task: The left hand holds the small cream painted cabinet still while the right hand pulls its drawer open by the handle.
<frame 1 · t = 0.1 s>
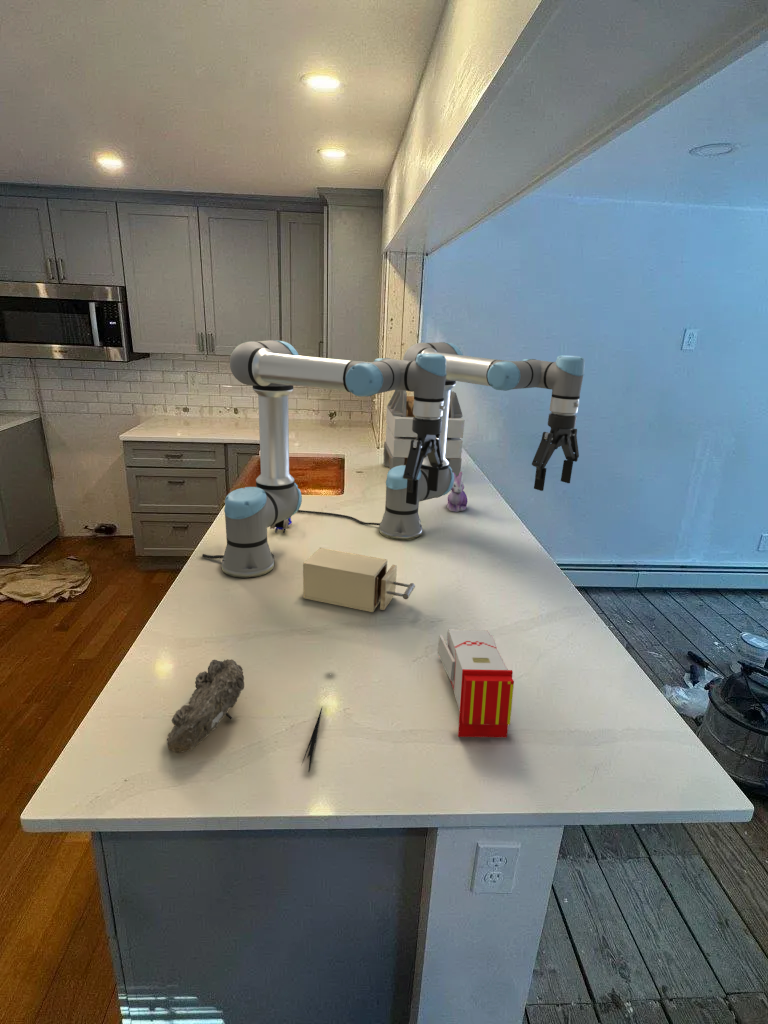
left hand: (422, 496, 151), 28 cm above the counter, tool pointing down, fingers open, 13 cm apart
right hand: (552, 485, 166), 28 cm above the counter, tool pointing down, fingers open, 13 cm apart
fossil: (212, 717, 108), on the counter
cabinet: (345, 596, 155), on the counter
drawer: (367, 582, 152), point 5 cm above the counter, slide at 1.7 cm
figurine: (456, 508, 228), on the counter
toy: (469, 691, 119), on the counter
feather: (319, 719, 109), on the counter
figurine character: (282, 528, 200), on the counter
transformer: (419, 473, 275), on the counter
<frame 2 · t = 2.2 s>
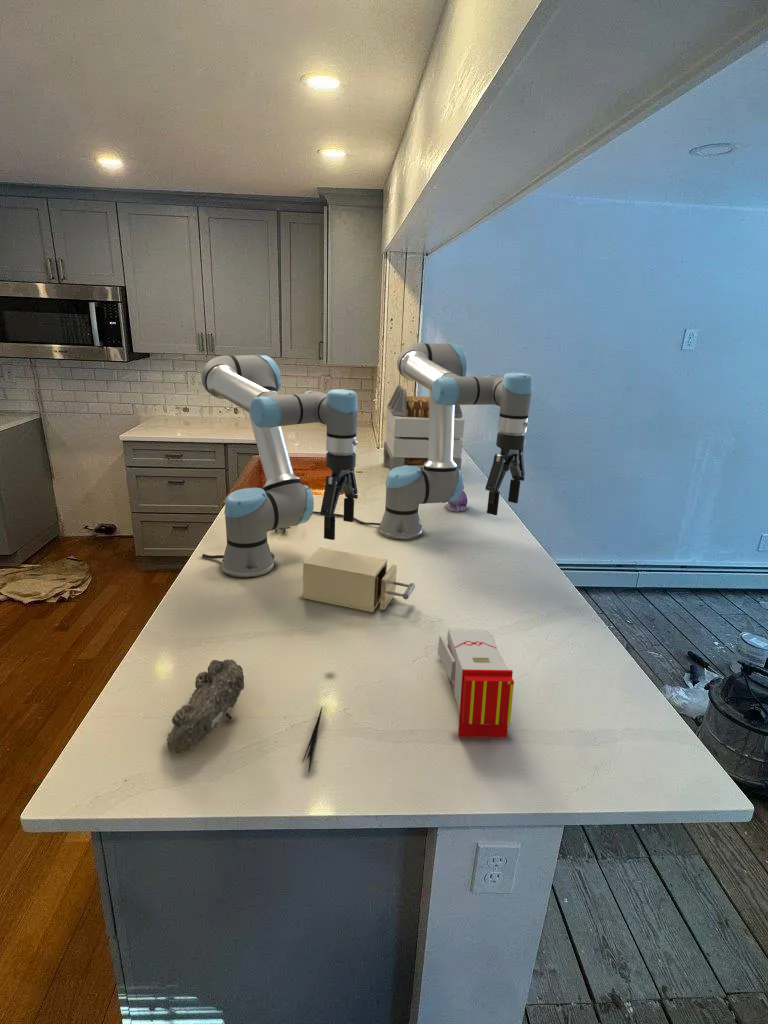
left hand: (339, 529, 151), 19 cm above the counter, tool pointing down, fingers open, 13 cm apart
right hand: (502, 508, 158), 24 cm above the counter, tool pointing down, fingers open, 13 cm apart
nothing on the counter moved.
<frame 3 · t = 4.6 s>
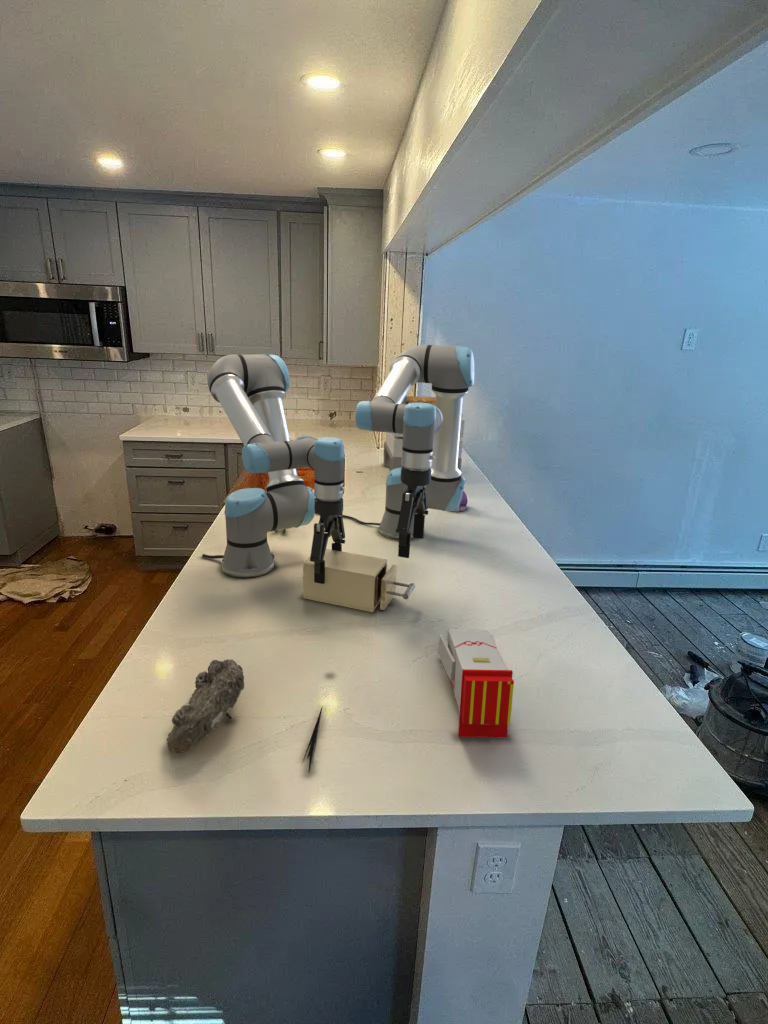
left hand: (328, 573, 155), 6 cm above the counter, tool pointing down, fingers closed on cabinet, 11 cm apart
right hand: (411, 547, 146), 17 cm above the counter, tool pointing down, fingers open, 13 cm apart
cabinet: (345, 596, 155), on the counter, touching left hand
everything else where it was.
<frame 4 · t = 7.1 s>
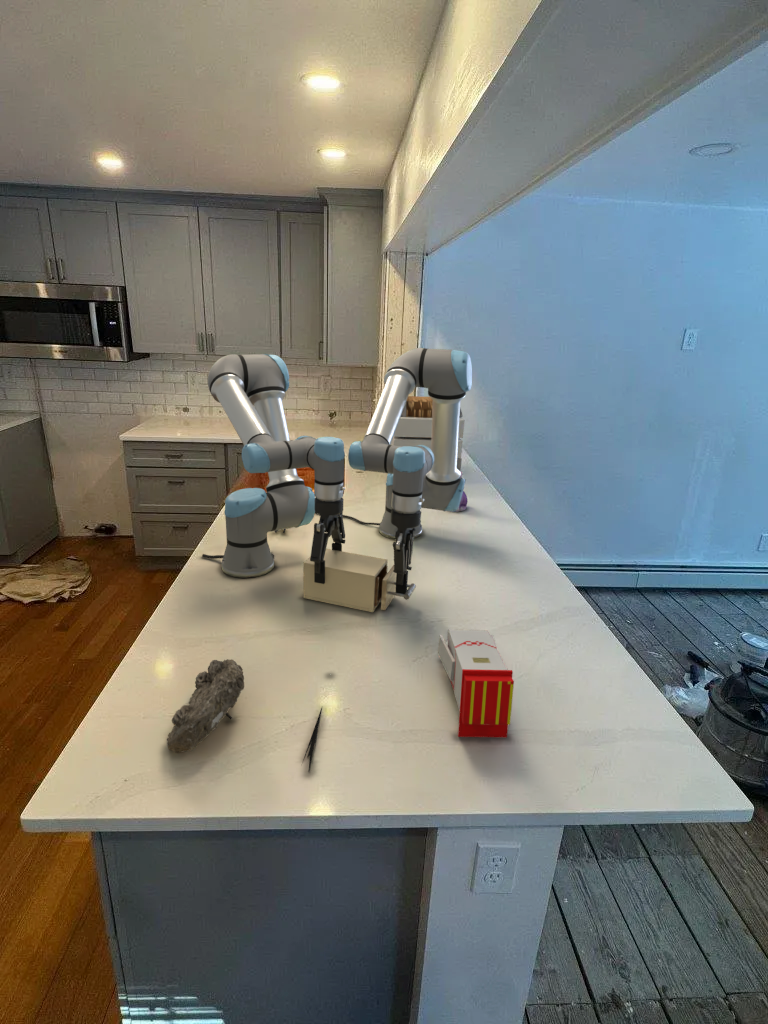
left hand: (328, 573, 155), 6 cm above the counter, tool pointing down, fingers closed on cabinet, 11 cm apart
right hand: (401, 593, 150), 4 cm above the counter, tool pointing down, fingers closed
cabinet: (345, 595, 155), on the counter, touching left hand
drawer: (368, 583, 152), point 5 cm above the counter, slide at 1.9 cm, touching right hand
everything else where it was.
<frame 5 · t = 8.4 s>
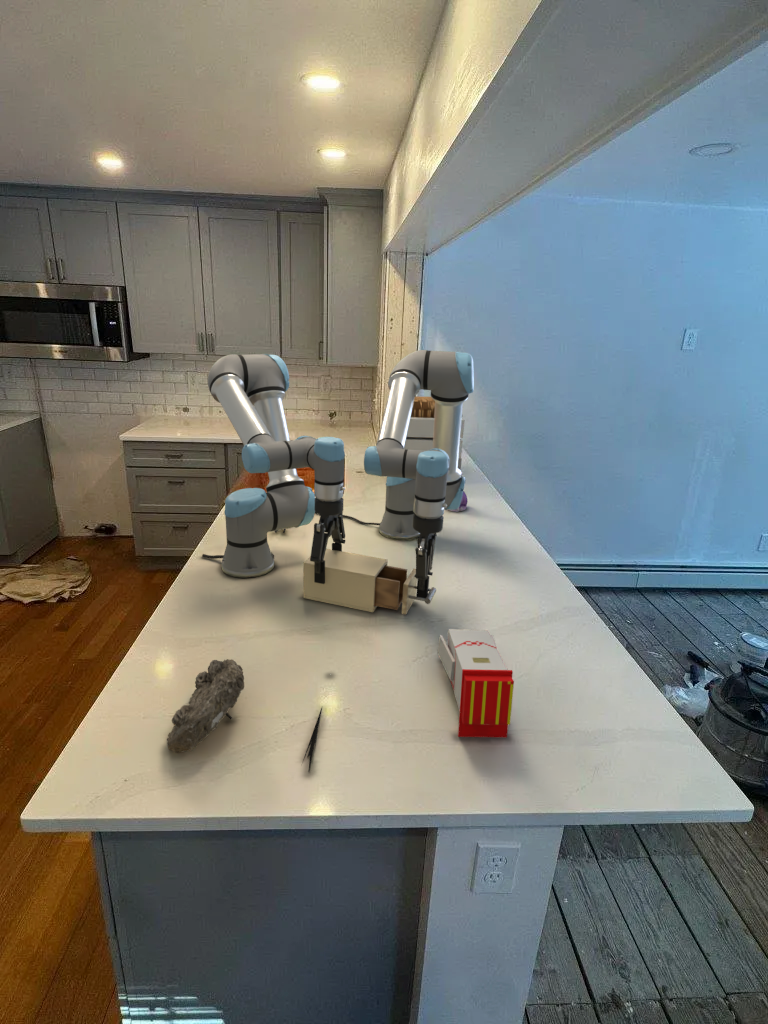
left hand: (328, 573, 155), 6 cm above the counter, tool pointing down, fingers closed on cabinet, 11 cm apart
right hand: (421, 598, 148), 4 cm above the counter, tool pointing down, fingers closed
cabinet: (345, 595, 155), on the counter, touching left hand
drawer: (388, 586, 150), point 5 cm above the counter, slide at 7.5 cm, touching right hand
everything else where it was.
when the left hand's fingers open (6 cm above the counter, at t = 10.1 s): cabinet stays where it is, on the counter.
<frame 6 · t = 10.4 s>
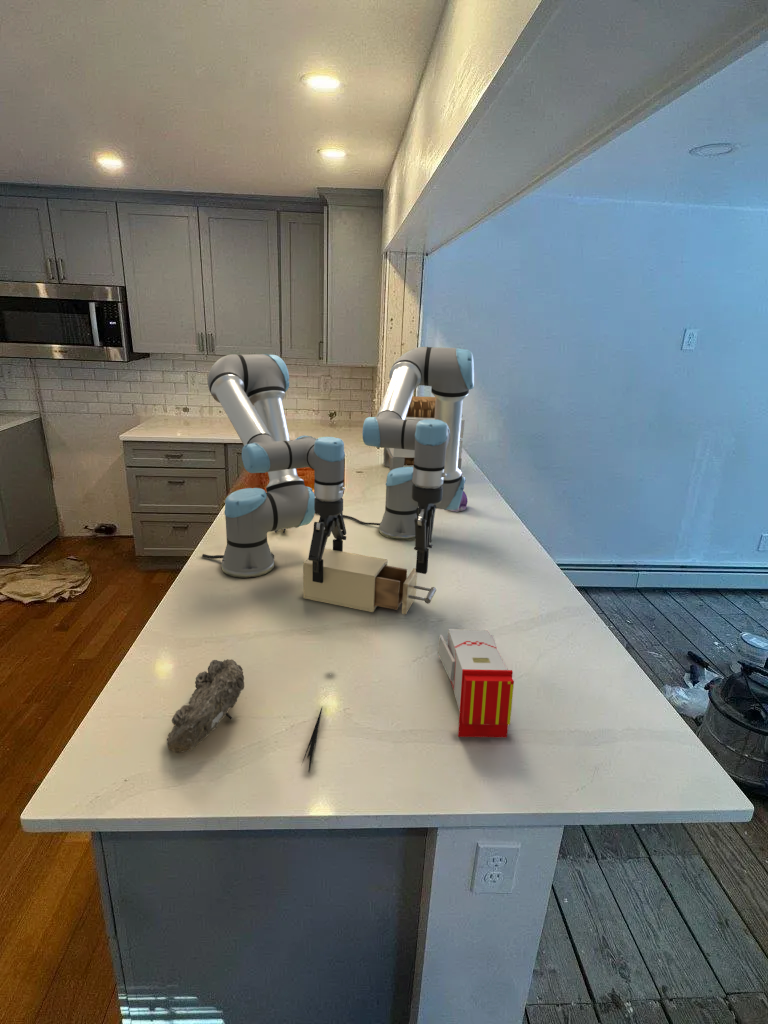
left hand: (328, 571, 155), 7 cm above the counter, tool pointing down, fingers open, 13 cm apart
right hand: (421, 572, 146), 11 cm above the counter, tool pointing down, fingers closed
cabinet: (345, 596, 155), on the counter
drawer: (388, 586, 150), point 5 cm above the counter, slide at 7.5 cm
everything else where it was.
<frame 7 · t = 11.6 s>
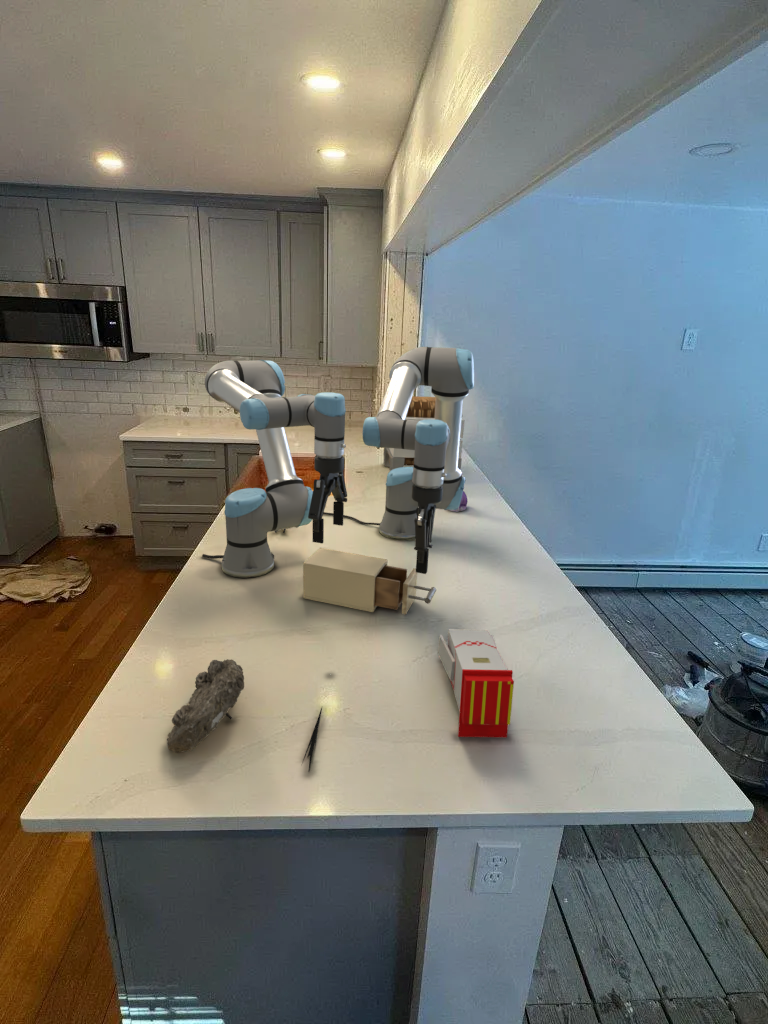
left hand: (328, 533, 151), 18 cm above the counter, tool pointing down, fingers open, 13 cm apart
right hand: (421, 572, 146), 11 cm above the counter, tool pointing down, fingers closed
nothing on the counter moved.
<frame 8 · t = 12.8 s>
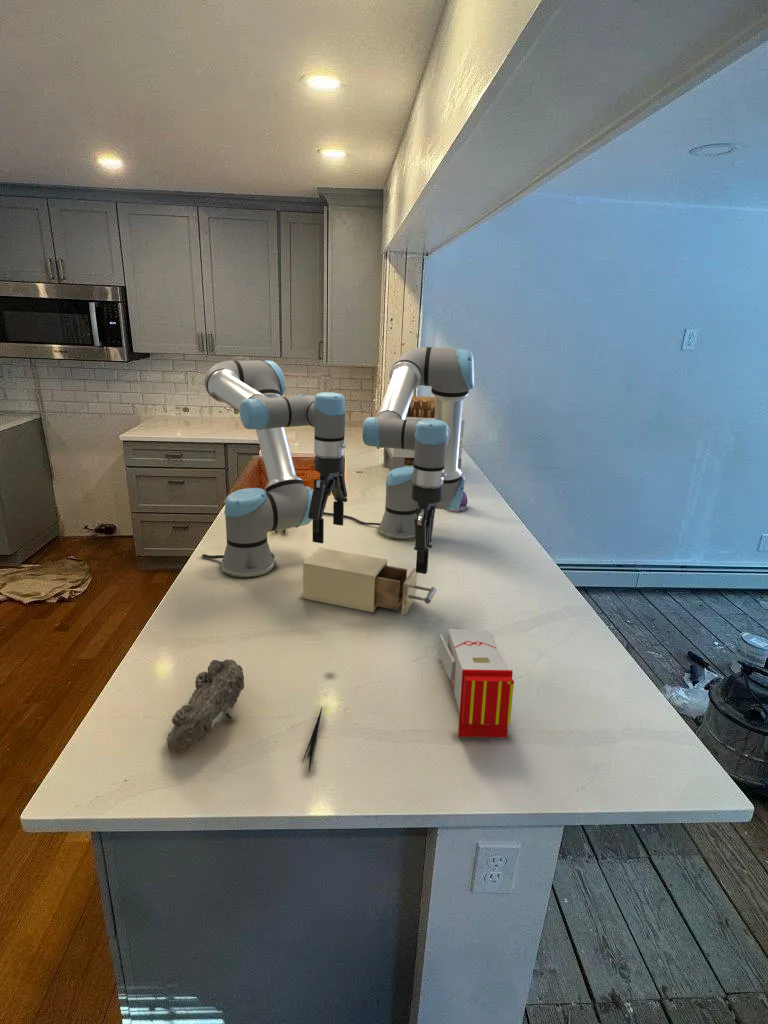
left hand: (328, 533, 151), 18 cm above the counter, tool pointing down, fingers open, 13 cm apart
right hand: (421, 572, 146), 11 cm above the counter, tool pointing down, fingers closed
nothing on the counter moved.
at the end: drawer slide at 7.5 cm; cabinet tilted 0°; cabinet never tilted more than 1° during the clip; cabinet moved 0.0 cm from its start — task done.
